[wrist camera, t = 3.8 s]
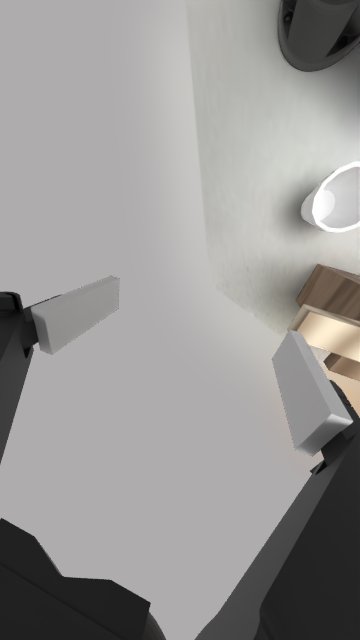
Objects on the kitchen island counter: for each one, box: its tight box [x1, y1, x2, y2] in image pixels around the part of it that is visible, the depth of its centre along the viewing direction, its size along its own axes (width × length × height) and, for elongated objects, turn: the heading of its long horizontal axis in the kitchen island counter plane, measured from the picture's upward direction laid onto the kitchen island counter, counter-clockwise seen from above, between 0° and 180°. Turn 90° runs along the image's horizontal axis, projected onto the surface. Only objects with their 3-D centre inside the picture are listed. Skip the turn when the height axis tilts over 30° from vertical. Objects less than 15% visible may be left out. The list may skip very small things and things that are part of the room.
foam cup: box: [301, 162, 360, 233], centre depth 34 cm, size 10×9×13 cm
